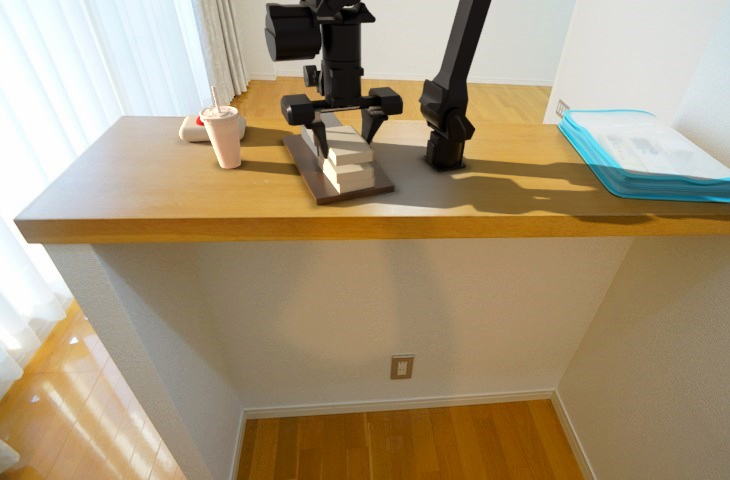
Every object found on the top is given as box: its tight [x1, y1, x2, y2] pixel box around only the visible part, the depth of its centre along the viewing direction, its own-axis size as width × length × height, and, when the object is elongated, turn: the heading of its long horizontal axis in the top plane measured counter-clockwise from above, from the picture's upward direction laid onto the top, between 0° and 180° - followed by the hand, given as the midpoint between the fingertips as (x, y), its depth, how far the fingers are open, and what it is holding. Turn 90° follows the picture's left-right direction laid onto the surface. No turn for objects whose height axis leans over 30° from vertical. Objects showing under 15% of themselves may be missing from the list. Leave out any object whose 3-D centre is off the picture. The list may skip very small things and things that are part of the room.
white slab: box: [178, 115, 247, 142], centre depth 85 cm, size 12×4×10 cm
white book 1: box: [325, 124, 375, 166], centre depth 70 cm, size 6×11×2 cm, turn 25°
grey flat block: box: [303, 112, 344, 146], centre depth 80 cm, size 6×11×3 cm, turn 23°
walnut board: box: [281, 133, 396, 206], centre depth 79 cm, size 14×26×1 cm, turn 25°
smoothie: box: [199, 85, 242, 169], centre depth 72 cm, size 6×6×14 cm
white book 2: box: [319, 147, 374, 184], centre depth 72 cm, size 6×11×2 cm, turn 24°
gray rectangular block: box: [300, 125, 319, 158], centre depth 82 cm, size 6×11×3 cm, turn 27°
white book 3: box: [317, 156, 375, 194], centre depth 73 cm, size 6×11×2 cm, turn 28°
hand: (344, 155), depth 71 cm, fingers closed on white book 1, 6 cm apart
